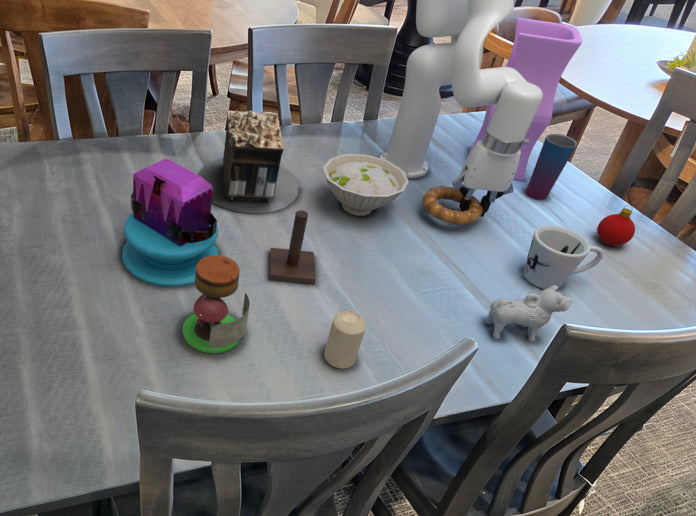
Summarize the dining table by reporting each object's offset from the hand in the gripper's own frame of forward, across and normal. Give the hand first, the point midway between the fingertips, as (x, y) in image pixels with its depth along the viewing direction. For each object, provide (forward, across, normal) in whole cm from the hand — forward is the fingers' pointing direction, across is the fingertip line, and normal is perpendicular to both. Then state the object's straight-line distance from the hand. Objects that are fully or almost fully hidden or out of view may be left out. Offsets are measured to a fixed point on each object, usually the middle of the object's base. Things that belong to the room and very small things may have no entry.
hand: (471, 211), depth 145 cm
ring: (-1, +5, 0) cm, 5 cm away
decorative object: (+3, +67, +25) cm, 71 cm away
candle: (+2, +34, +49) cm, 59 cm away
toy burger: (+2, +56, +46) cm, 73 cm away
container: (+3, -14, -30) cm, 34 cm away
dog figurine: (+2, 0, +37) cm, 37 cm away
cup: (+3, -20, -15) cm, 26 cm away
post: (+2, +42, +25) cm, 48 cm away
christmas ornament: (+2, -31, +4) cm, 31 cm away
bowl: (+3, +26, -1) cm, 26 cm away
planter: (+4, +52, -6) cm, 52 cm away
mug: (+2, -13, +20) cm, 24 cm away
